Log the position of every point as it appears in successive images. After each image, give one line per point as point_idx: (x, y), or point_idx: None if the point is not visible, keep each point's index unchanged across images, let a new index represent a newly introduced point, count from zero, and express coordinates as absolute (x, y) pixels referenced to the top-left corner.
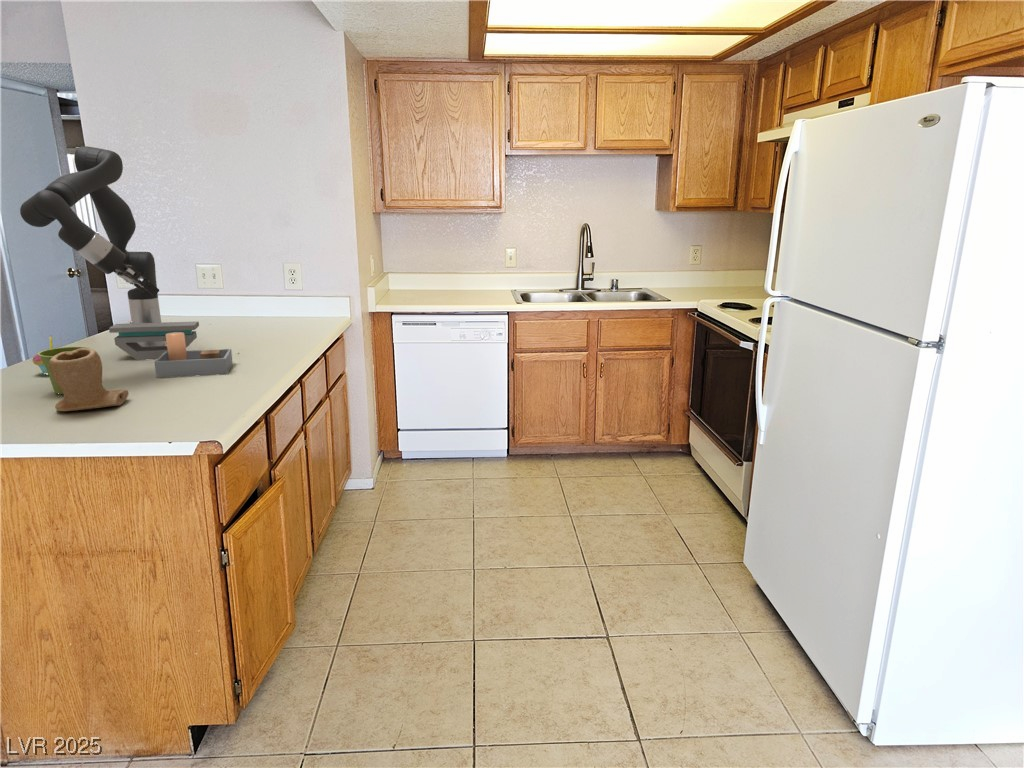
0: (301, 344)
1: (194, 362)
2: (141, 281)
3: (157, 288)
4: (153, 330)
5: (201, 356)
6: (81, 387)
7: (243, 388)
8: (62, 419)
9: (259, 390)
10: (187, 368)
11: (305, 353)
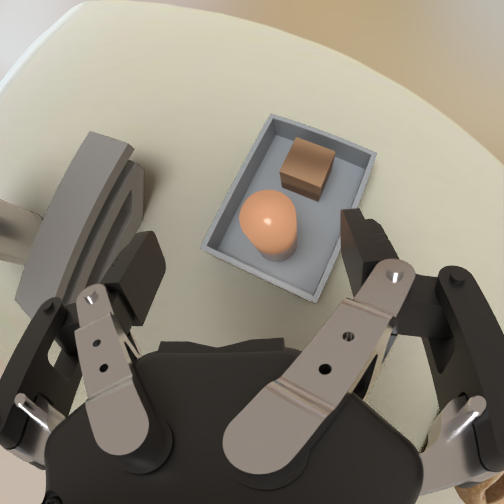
0: (195, 27)
1: None
2: (128, 268)
3: (362, 215)
4: (84, 239)
5: (321, 187)
6: None
7: (483, 188)
8: None
9: (500, 174)
10: None
11: (270, 31)
